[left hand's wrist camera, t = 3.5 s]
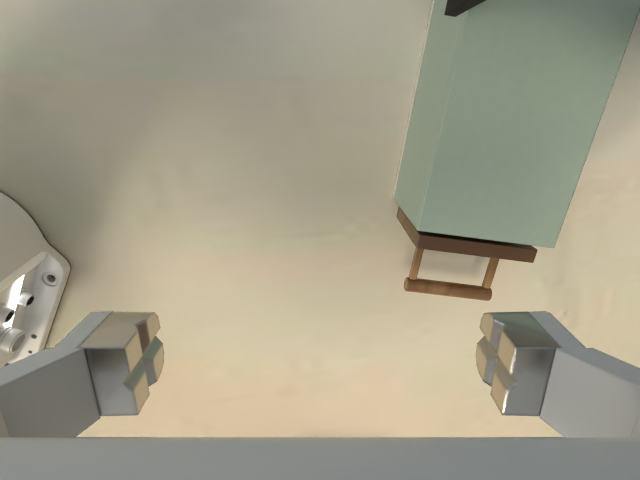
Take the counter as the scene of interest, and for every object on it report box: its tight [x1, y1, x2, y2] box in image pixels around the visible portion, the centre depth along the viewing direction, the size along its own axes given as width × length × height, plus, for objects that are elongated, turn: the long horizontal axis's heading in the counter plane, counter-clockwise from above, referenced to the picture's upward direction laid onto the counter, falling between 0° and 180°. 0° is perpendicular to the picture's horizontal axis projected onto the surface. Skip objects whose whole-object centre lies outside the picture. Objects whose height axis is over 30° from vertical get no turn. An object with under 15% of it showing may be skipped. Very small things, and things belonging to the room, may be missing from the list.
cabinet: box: [392, 0, 640, 248], centre depth 34 cm, size 20×11×11 cm, turn 172°
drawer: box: [397, 206, 537, 301], centre depth 36 cm, size 24×10×8 cm, turn 172°
